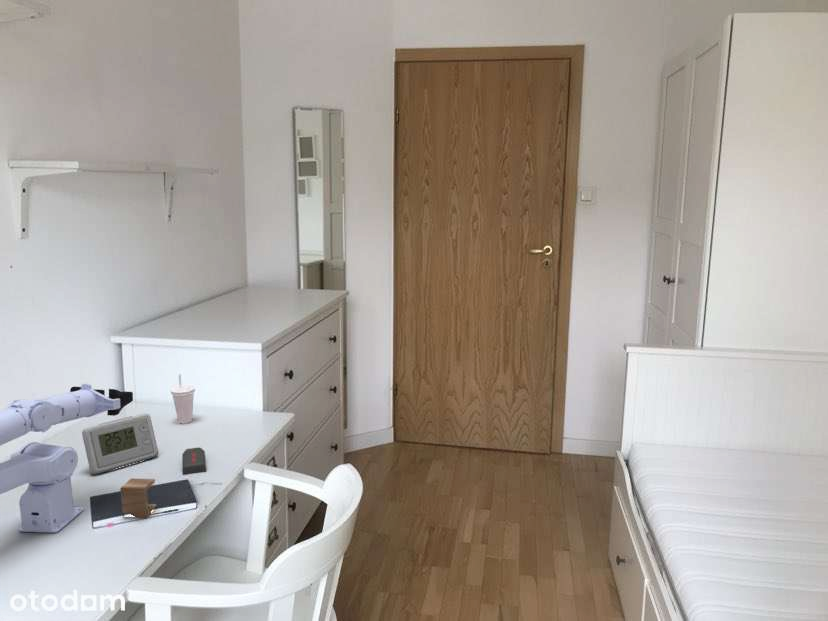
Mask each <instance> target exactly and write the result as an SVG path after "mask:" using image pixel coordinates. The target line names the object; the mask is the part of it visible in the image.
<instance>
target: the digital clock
mask: <svg viewBox="0 0 828 621" xmlns="http://www.w3.org/2000/svg"><path fill="white" fill-rule="evenodd" d="M81 435H82V440H83V445H84V449H85V453H86V457H87V458H86V459H87V463H88V467H89V471H90V473H91V474H92V475H99V474H102V473H105V472H107V471H109V472H111V471H110V470H113V469H116V468H119V467H122V466H126V465H129V464H133V463H136V462H139V463H141V462H140V461H143V460H145V461H146V460H150V459H153V458H156V457H158V455H159V448H158V444H157V440H156V436H155V431H154V427H153V422H152V418H151V416H150V414H149V413H142V414H138V415H134V416H133V415H131V416H127V417H124V418H123V417H122V418H119V419H115V420H112V421H108V422H103V423H99V424H97V425H92V426H90V427H87V428H85V427H84V428H83V430H82V431H81ZM143 462H144V461H143ZM136 464H137V463H136ZM133 465H134V464H133ZM129 466H130V465H129ZM126 467H127V466H126ZM119 469H120V468H119ZM116 470H117V469H116ZM113 471H114V470H113Z"/></svg>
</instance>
